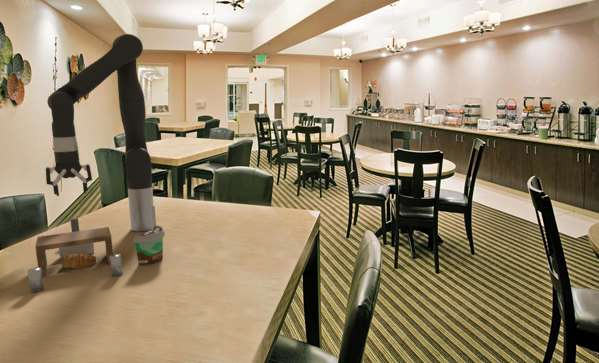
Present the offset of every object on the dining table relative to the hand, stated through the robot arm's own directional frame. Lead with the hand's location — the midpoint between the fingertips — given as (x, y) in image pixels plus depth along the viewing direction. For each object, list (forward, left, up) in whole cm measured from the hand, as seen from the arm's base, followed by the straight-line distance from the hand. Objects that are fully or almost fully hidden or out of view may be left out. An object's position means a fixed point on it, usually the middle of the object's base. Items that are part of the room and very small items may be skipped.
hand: (71, 194), depth 145 cm
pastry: (0, +25, -18) cm, 31 cm away
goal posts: (0, +40, -18) cm, 44 cm away
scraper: (0, +8, -18) cm, 20 cm away
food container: (-22, +34, -18) cm, 44 cm away
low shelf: (0, +25, -18) cm, 31 cm away
